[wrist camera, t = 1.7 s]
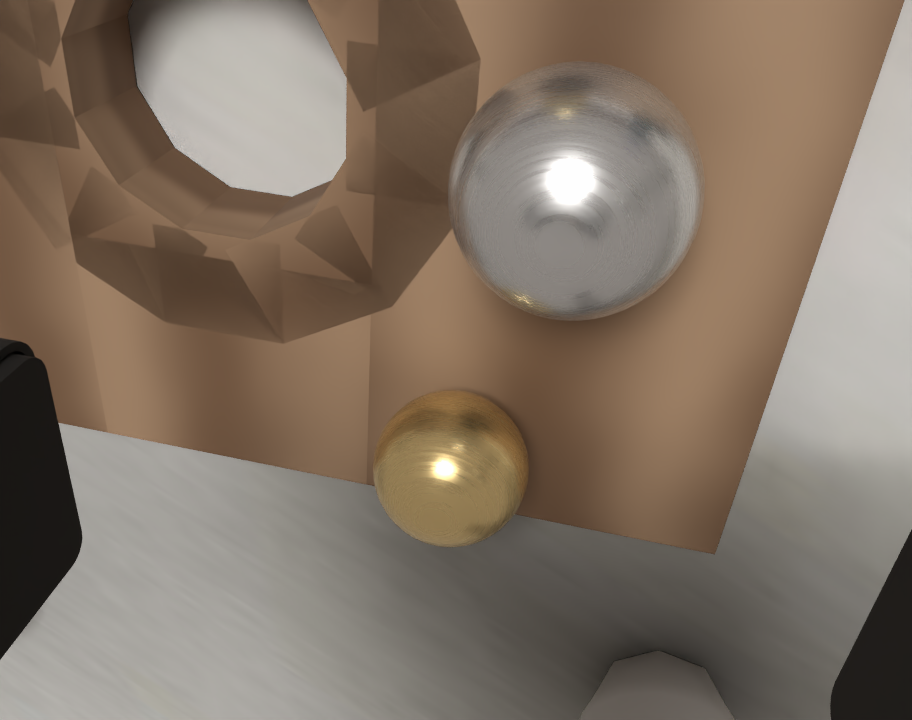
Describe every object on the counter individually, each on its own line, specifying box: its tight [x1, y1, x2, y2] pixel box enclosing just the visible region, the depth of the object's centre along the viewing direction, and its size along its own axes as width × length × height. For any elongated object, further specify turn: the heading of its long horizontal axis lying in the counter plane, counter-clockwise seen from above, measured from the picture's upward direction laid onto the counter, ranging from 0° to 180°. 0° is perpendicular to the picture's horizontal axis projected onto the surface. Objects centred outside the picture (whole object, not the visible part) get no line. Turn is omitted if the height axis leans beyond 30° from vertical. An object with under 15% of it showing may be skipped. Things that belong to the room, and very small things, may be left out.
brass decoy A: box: [373, 390, 529, 547], centre depth 22 cm, size 4×4×4 cm
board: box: [0, 0, 904, 554], centre depth 21 cm, size 23×22×3 cm
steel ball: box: [448, 61, 705, 321], centre depth 17 cm, size 5×5×5 cm
